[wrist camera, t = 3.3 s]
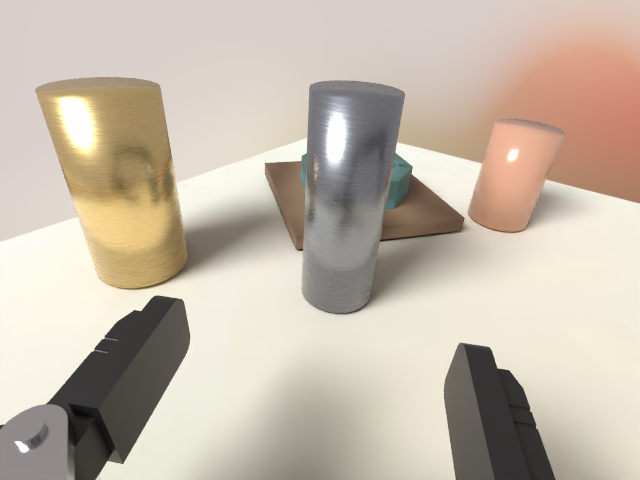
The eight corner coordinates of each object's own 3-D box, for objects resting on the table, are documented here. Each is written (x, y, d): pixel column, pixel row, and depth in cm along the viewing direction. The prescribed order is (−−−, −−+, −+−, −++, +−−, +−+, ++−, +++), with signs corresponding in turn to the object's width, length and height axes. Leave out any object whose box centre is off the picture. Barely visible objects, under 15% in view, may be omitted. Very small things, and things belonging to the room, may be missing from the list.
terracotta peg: (501, 202, 36) (531, 118, 32) (540, 228, 32) (580, 136, 28) (456, 206, 35) (481, 119, 30) (491, 234, 31) (526, 138, 26)
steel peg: (356, 264, 26) (381, 80, 20) (382, 306, 23) (422, 100, 16) (294, 272, 25) (299, 80, 18) (311, 318, 21) (325, 100, 15)
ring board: (388, 166, 42) (394, 134, 40) (460, 230, 31) (473, 189, 29) (265, 174, 38) (264, 138, 36) (296, 249, 27) (297, 204, 25)
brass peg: (188, 235, 28) (163, 77, 22) (187, 281, 23) (156, 99, 18) (105, 243, 26) (54, 76, 20) (88, 294, 22) (16, 100, 16)
